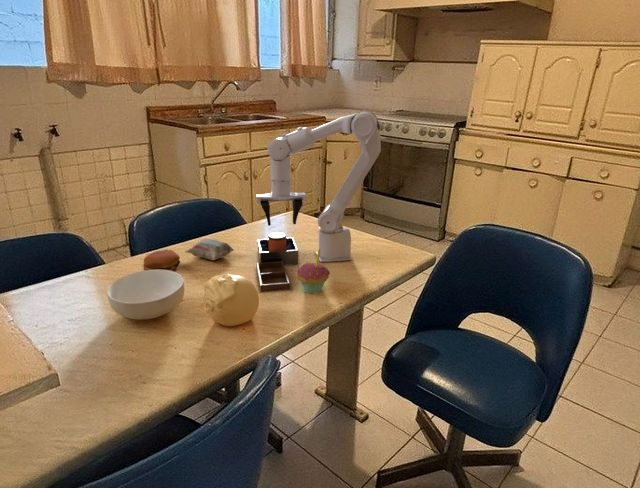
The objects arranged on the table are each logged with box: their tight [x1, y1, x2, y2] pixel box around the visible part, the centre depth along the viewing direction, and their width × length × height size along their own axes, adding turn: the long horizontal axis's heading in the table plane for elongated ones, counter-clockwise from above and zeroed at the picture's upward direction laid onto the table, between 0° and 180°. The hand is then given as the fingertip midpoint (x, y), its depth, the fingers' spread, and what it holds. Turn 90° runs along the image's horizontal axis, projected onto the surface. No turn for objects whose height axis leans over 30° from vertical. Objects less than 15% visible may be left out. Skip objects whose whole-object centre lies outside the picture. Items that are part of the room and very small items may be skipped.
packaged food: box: [184, 238, 235, 261], centre depth 137 cm, size 9×12×5 cm
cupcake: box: [295, 248, 331, 294], centre depth 116 cm, size 9×8×12 cm
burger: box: [143, 249, 181, 271], centre depth 128 cm, size 10×9×5 cm
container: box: [267, 231, 287, 252], centre depth 136 cm, size 5×5×7 cm
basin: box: [257, 236, 299, 266], centre depth 136 cm, size 11×11×4 cm
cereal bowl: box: [106, 270, 186, 320], centre depth 105 cm, size 17×17×7 cm
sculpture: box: [203, 272, 260, 327], centre depth 102 cm, size 12×12×11 cm
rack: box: [256, 261, 291, 293], centre depth 123 cm, size 8×14×2 cm, turn 12°
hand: (281, 223), depth 138 cm, fingers open, 7 cm apart
